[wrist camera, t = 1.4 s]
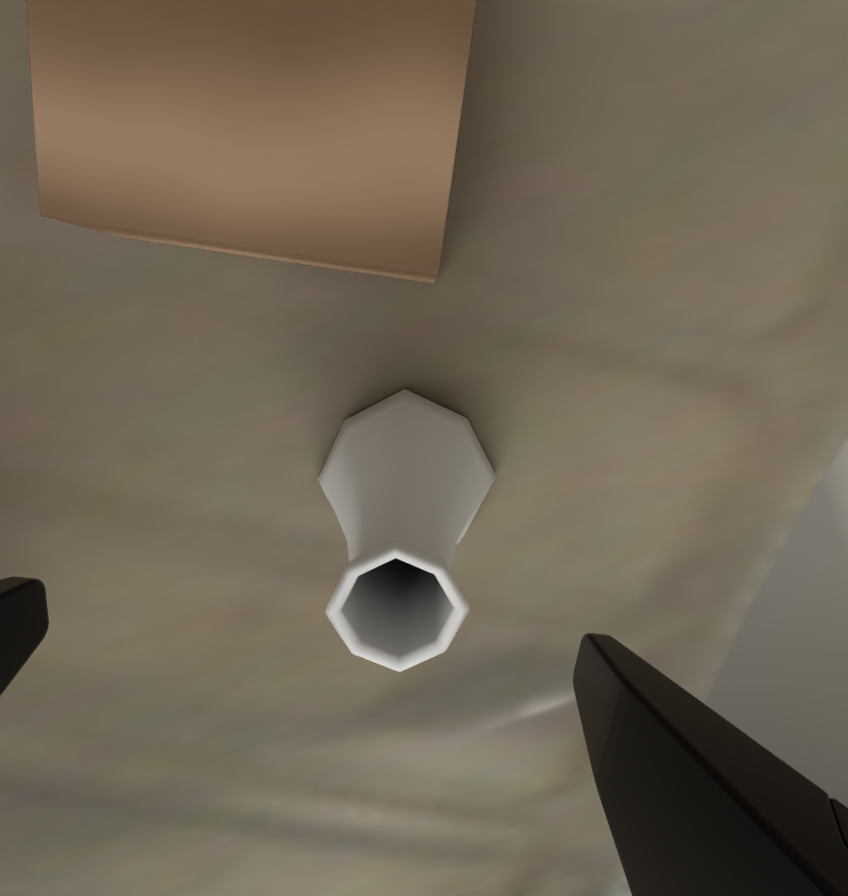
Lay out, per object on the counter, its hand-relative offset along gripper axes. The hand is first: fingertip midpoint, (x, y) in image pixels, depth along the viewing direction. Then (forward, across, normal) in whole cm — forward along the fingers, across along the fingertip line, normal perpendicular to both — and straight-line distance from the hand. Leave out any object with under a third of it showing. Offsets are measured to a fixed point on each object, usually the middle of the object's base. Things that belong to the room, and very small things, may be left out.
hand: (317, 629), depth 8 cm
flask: (+13, -1, +2) cm, 13 cm away
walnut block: (+13, +4, -13) cm, 18 cm away
